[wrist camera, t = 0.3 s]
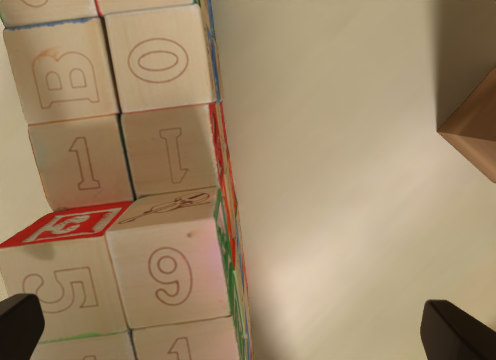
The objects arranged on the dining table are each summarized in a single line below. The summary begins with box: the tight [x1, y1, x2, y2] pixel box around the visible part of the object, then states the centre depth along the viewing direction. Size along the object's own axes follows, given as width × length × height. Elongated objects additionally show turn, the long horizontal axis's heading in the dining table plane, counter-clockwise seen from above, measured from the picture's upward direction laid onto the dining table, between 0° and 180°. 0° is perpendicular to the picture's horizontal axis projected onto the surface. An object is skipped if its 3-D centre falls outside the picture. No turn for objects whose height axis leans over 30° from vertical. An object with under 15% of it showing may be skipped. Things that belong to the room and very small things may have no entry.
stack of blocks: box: [0, 0, 254, 360], centre depth 16 cm, size 21×6×12 cm, turn 6°
